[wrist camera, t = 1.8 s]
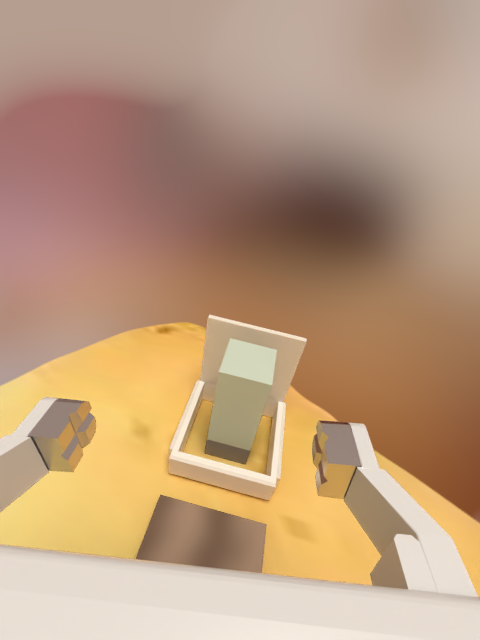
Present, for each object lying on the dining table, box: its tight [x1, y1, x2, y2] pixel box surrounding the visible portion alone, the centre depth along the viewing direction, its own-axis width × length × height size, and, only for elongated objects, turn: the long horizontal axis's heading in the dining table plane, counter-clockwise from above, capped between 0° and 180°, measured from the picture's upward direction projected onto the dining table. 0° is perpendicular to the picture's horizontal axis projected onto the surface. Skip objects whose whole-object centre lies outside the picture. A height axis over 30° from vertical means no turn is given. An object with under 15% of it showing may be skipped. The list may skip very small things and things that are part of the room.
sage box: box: [205, 338, 277, 465], centre depth 34 cm, size 5×5×14 cm
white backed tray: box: [169, 315, 306, 501], centre depth 34 cm, size 12×12×14 cm
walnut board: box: [136, 495, 266, 573], centre depth 27 cm, size 11×9×1 cm
